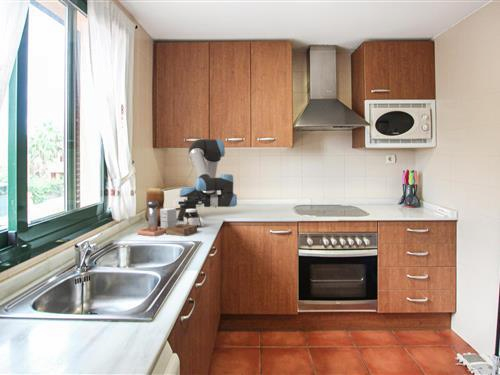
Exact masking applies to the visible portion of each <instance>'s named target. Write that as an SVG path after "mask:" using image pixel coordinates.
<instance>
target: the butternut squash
mask: <svg viewBox="0 0 500 375" xmlns="http://www.w3.org/2000/svg"><path fill="white" fill-rule="evenodd" d="M148 201H158V202H159V205H157V227H159V226H161V215H160V209H164V208H165V207H164V203H165V193H164V190H163V189H161V188H158V187H157V188H156V187H151V188H148V189H147V191H146V202H148ZM144 218H145V220H146V222H148V224H149V218H148V206H146V209H145V214H144Z"/></svg>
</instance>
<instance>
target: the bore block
mask: <svg viewBox="0 0 500 375" xmlns="http://www.w3.org/2000/svg"><path fill="white" fill-rule="evenodd" d="M197 232H198V227H197V225H186V224H184V223H177V225H174V226H170V227H166V233H165V234H166V235H168V234H170V235H171V236H180V237H186V236H190V235H193V234H196V233H197Z"/></svg>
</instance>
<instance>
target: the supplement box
mask: <svg viewBox="0 0 500 375" xmlns="http://www.w3.org/2000/svg"><path fill="white" fill-rule="evenodd" d="M160 215H161V224H160V228H166V227H170V226H174V225H177V224H178V221H177V220H178V219H177V208H175V207H173V208H172V207H164V209H160Z"/></svg>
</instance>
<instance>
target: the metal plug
mask: <svg viewBox="0 0 500 375" xmlns="http://www.w3.org/2000/svg"><path fill="white" fill-rule="evenodd" d="M157 205H159V202H158V201H148V202H147V201H146V204H145V206H146V207H147V206H148V218H149V223H148V228H149V231H150V232H156V231H158V229H157V227H158V226H157Z"/></svg>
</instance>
